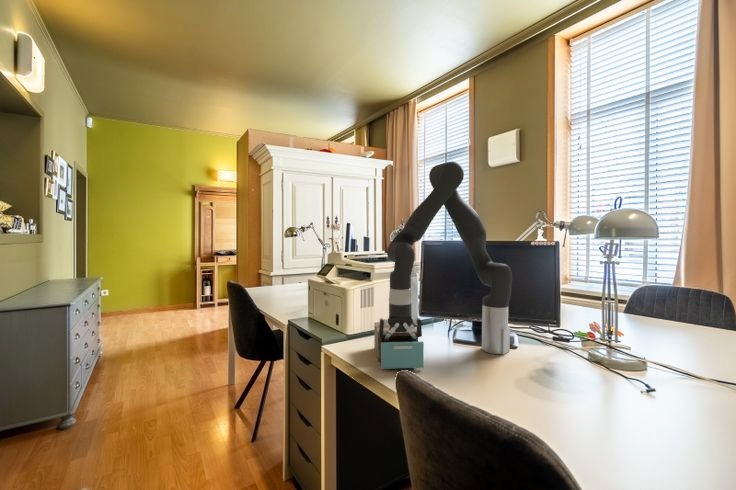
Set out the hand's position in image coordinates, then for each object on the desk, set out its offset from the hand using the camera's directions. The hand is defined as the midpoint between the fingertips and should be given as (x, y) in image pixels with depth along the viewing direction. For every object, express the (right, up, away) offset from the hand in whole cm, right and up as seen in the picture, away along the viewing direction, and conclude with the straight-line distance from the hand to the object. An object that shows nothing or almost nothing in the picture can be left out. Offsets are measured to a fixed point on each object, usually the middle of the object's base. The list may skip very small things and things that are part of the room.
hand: (400, 349), depth 121 cm
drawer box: (-1, -5, +11) cm, 12 cm away
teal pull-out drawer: (0, -4, +1) cm, 5 cm away
